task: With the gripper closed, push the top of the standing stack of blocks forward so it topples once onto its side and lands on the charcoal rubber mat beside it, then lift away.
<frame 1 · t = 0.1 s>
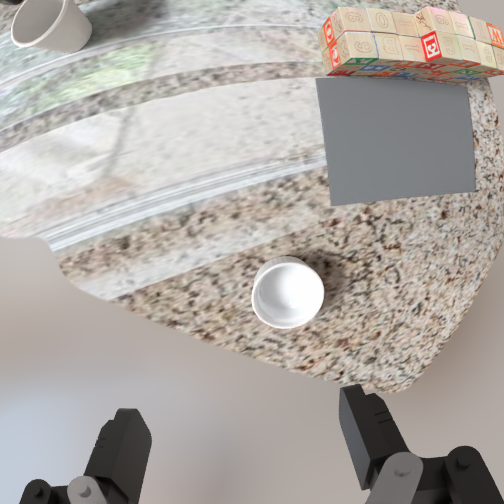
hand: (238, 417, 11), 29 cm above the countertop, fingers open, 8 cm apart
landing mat: (408, 137, 35), on the countertop
stack of blocks: (394, 57, 32), on the countertop
ramekin: (283, 282, 41), on the countertop
dixie cup: (75, 36, 29), on the countertop
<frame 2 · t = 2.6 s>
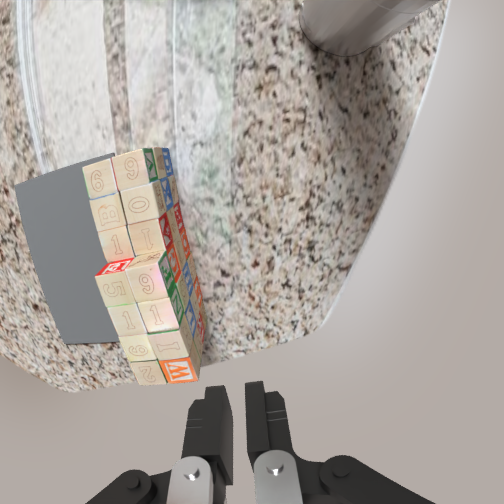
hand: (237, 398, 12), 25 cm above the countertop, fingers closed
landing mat: (80, 261, 36), on the countertop
stack of blocks: (163, 243, 36), on the countertop
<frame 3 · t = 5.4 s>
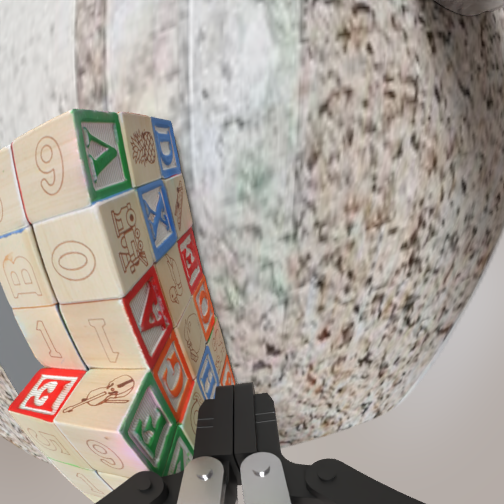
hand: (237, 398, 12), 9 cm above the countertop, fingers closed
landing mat: (36, 319, 20), on the countertop
stack of blocks: (167, 298, 20), on the countertop
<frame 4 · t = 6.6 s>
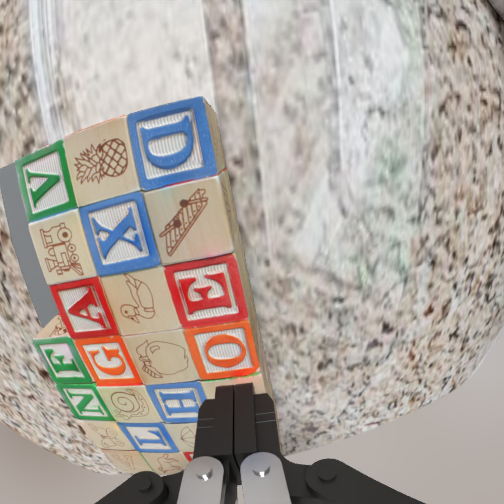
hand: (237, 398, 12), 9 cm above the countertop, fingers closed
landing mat: (126, 312, 20), on the countertop
stack of blocks: (259, 313, 16), point 4 cm above the countertop, touching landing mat
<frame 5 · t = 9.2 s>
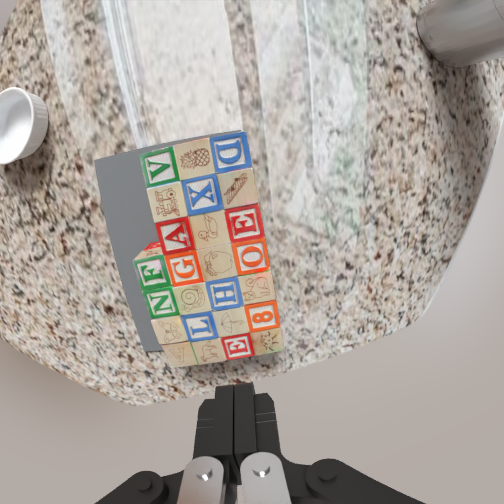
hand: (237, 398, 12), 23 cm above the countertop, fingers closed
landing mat: (183, 253, 34), on the countertop
stack of blocks: (268, 243, 30), point 4 cm above the countertop, touching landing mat
ramekin: (26, 126, 28), on the countertop
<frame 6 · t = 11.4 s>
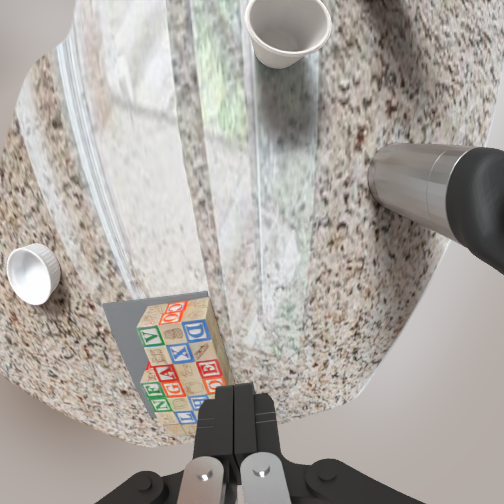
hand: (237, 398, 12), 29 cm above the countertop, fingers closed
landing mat: (173, 365, 46), on the countertop
stack of blocks: (228, 370, 42), point 4 cm above the countertop, touching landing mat
ramekin: (42, 266, 40), on the countertop
dixie cup: (277, 49, 33), on the countertop
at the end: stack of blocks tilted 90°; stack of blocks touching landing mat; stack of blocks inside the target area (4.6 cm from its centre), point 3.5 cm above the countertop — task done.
